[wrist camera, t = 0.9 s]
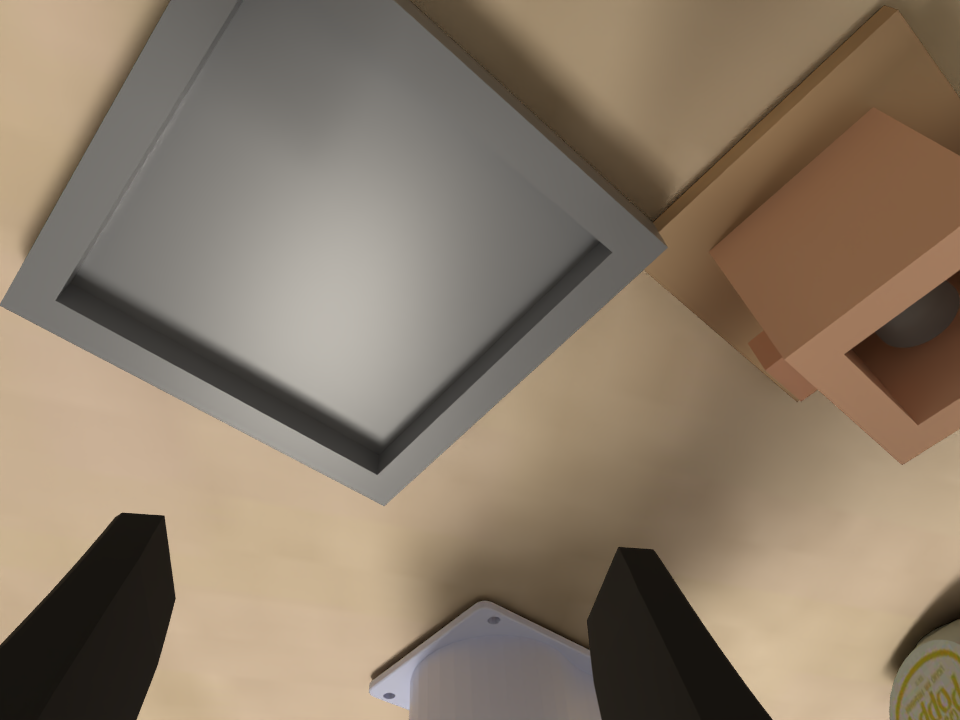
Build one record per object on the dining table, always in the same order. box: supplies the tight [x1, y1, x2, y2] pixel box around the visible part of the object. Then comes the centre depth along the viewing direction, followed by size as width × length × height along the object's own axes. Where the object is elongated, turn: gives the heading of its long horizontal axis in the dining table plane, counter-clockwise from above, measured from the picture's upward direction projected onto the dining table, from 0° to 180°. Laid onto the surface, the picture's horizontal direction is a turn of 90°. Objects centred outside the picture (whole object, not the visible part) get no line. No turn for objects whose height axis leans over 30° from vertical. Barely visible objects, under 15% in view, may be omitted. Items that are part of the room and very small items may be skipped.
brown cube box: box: [709, 107, 960, 465], centre depth 17 cm, size 5×6×5 cm
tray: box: [0, 0, 668, 506], centre depth 18 cm, size 12×12×2 cm
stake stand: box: [644, 5, 960, 402], centre depth 18 cm, size 8×8×4 cm
